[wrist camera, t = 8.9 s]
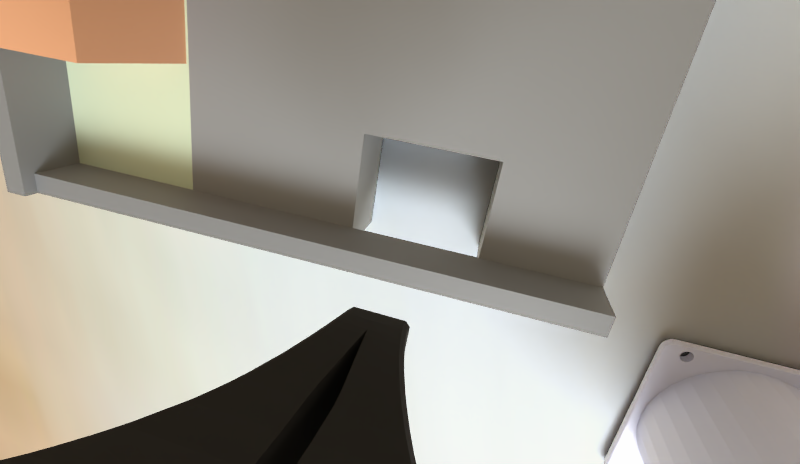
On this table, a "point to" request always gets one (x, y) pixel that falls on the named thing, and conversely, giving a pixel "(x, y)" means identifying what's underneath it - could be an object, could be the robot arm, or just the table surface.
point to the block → (96, 30)
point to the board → (374, 133)
